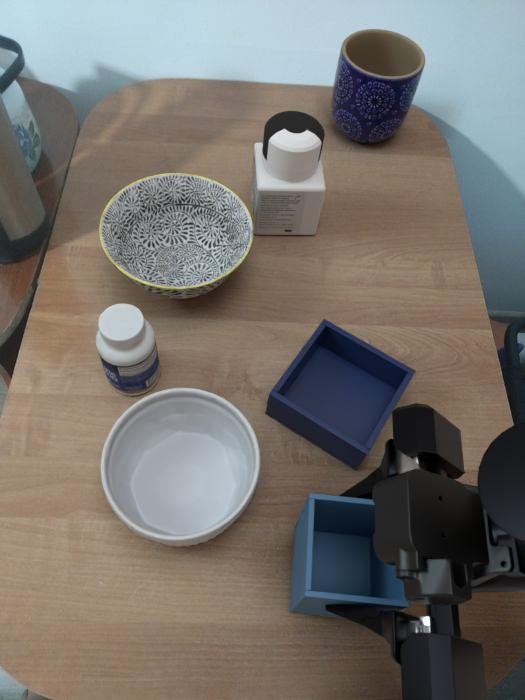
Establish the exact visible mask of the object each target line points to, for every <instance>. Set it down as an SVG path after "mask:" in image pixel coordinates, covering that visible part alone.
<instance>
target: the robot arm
mask: <svg viewBox="0 0 525 700" xmlns="http://www.w3.org/2000/svg"><path fill="white" fill-rule="evenodd" d="M391 416H392V417H391V418H392V419H391V421H392V438H389V439H388V440H387V441H386V442H385V444H384V453H383V455H382V458H381V462H380V464H379V465H378V467H377V468H376V469H375V470H374V471H372V472H371V473H369V475H367V476H366V477H365V478H363V479H362V480H360V481H358V482H357V483H355V484H354V485H353V486H350V488H348V489H346V490H344V491H343V492H341V493H340V494H339V495H338V496H342V497H352V498H361V499H371V500H373V502H374V504H375V533H374V535H373V547H374V551H375V553H376V555H377V557H378V558H379V559H380V560H381V561H382V562H383V563H385V564H388V565H393V566H396V578H398V579H401V580H402V582H403V586H404V597H405V598H406V599H407V600H409V602H410V601H411V602H416V603H421V604H425V612H426V614H425V615H426V616H418V615H417V616H416V615H413V614H410V613H406V612H403V611H397V610H382V609H375V608H368V607H361V606H354V605H347V604H329V605H325V610H326V611H328V612H330V613H333V614H335V615H338V616H340V617H343V618H342V619H344V620H348V621H350V622H353V623H354V624H357V625H359V626H361V627H364V628H365V629H368V630H370V631H371V632H373V633H375V634H376V635H378V636H379V637H381V638H382V639H384V640H385V641H386V643H387V644H388V645H389V648H390V658H391V660H392V662H393V663H394V664H395V665H396V666H399V667H400V679H401V699H402V700H489V698H488V697H489V695H488V688H487V687H488V686H487V677H486V666H485V658H484V657H485V656H484V647H483V643H481V642H478V641H475V640H470V639H467V638H464V633H463V630H462V628H461V619H460V608H459V607H460V606H459V605H462V604H465V603H467V602H470V601H472V599H473V594H478V593H479V594H480V593H482V594H483V593H518V592H519V593H520V592H521V593H522V592H525V420H524V421H521V422H519V423H516V424H513V425H512V426H510V427H509V428H507V429H505V430H503V431H502V432H500V434H499V435H497V437H496V438H494V439H493V440H492V442H490V444H489V445H488V447H487V448H486V450H485V452H484V453H483V455H482V457H481V460H480V462H479V466H478V470H477V471H478V472H477V480H476V483H477V484H476V485H474V484H473V485H472V484H467V483H462V482H461V481H459V479H460V478H461V477H462V476H463V475H464V474H465V473H466V472H465V471H466V470H465V462H464V453H463V442H462V441H463V440H462V433H461V430H460V428H458V427H457V426H456V425H455V424H453V423H452V422H451V421H449V420H448V419H447V418H446V417H445V416H443V415H442V414H441V413H440V412H439V411H437V410H436V409H435V408H434V407H432V406H430V405H429V404H427V403H419V402H413V403H410V404H407V405H402V406H397V407H395V408H394V409H393V411H392V413H391Z"/></svg>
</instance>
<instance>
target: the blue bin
mask: <svg viewBox="0 0 525 700" xmlns="http://www.w3.org/2000/svg"><path fill="white" fill-rule="evenodd" d="M374 533H375V504H374V502H373V500H371V499H361V498H352V497H342V496H339V495H334V494H333V495H332V494H322V493H313V492H309V494H308V496H307V498H306V500H305V502H304V504H303V506H302V509H301V511H300V513H299V515H298V517H297V519H296V521H295V524H294V527H293V543H292V558H291V559H292V560H291V578H290V595H289V596H290V597H289V611H288V612H289V613H290V614H299V615H309V616H317V617H318V616H319V617H328V618H329V617H330V618H337V619H338V618H339V619H344V618H343V617H340V616H338V615H335V614H333V613H330V612H328V611H326V610H325V605H329V604H347V605H354V606H361V607H368V608H375V609H382V610H397V611H400V612H402V611H403V610H406V609H408V608H410V600H407V599H406V598H405V597H404V586H403V582H402V580H401V579H398V578H396V566H393V565H388V564H385V563H383V562H382V561H381V560H380V559H379V558H378V557H377V555H376V553H375V551H374V547H373V535H374Z"/></svg>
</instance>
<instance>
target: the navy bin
mask: <svg viewBox="0 0 525 700" xmlns="http://www.w3.org/2000/svg"><path fill="white" fill-rule="evenodd" d="M415 373H416V370H415V369H414V368H412V367H410V366H409V365H407V364H405V363H403V362H401V361H400V360H398V359H396V358H394V357H393V356H391V355H389V354H388V353H385V352H384V351H382V350H380V349H378V348H377V347H375V346H373V345H371V344H370V343H368V342H366V341H364V340H363V339H361V338H359V337H357V336H356V335H354V334H352V333H350V332H348V331H346V330H345V329H343V328H341V327H340V326H338V325H336V324H334V323H332V322H331V321H329V320H328V319H325V318H323V319H322V320H321V322H320V324H319V325H318V326H317V327H316V329H315V331H314V332H313V333H312V335H311V336H310V337H309V339H308V340H307V341H306V343H305V344H304V345H303V346H302V348H301V350H299V352H298V353H297V354H296V357H294V359H293V360H292V361H291V363H290V365H289V366H288V367H287V369H285V371H284V372H283V374H282V375H281V377H280V378H279V379H278V381H277V382H276V383H275V385H274V386H273V387H272V389H271V390H270V392H269V393H268V397H267V403H266V407H265V415H267V416H268V417H270V418H272V419H273V420H275V421H276V422H278V423H279V424H281V425H283V426H285V427H286V428H287V429H289V430H291V432H294V433H295V434H297V435H299V436H300V437H302V438H303V439H305V440H307V441H308V442H310V443H311V444H313V445H315V446H316V447H318V448H320V449H321V450H323V451H324V452H326V453H327V454H329V455H331V456H332V457H334V458H335V459H337V460H338V461H340V462H341V463H343V464H345V465H346V466H348V467H349V468H351V469H352V470H354V471H358V469H359V468H360V466H361V464H362V463H363V462H364V460H365V458H366V457H367V455H368V454H369V452H370V451H371V448H372V447H373V445H374V443H375V442H376V440H377V438H378V437H379V435H380V434H381V432H382V430H383V429H384V427H385V425H386V423H387V421H388V419H390V416H391V415H392V412H393V410H394V409H395V408H396V406H397V404H398V402H399V401H400V399H401V398H402V396H403V394H404V393H405V391H406V389H407V387H408V386H409V384H410V382H411V381H412V378H413V377H414V375H415Z"/></svg>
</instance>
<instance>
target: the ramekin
mask: <svg viewBox="0 0 525 700" xmlns="http://www.w3.org/2000/svg"><path fill="white" fill-rule="evenodd" d="M260 449H261V448H260V443H259V441H258V437H257V435H256V432H255V430H254V428H253V426H252V425H251V423H250V421H249V420H248V418H247V417H246V416H245V415H244V413H242V411H241V410H239V408H238V407H236V406H235V405H234V404H233V403H232V402H230V401H229V400H227V399H226V398H225V397H222V396H220V395H218V394H216V393H214V392H211V391H207V390H204V389H199V388H194V387H174V388H166V389H163V390H159V391H157V392H154V393H151V394H149V395H146V396H144V397H142V398H141V399H139V400H138V401H136V402H135V403H133V404H132V405H131V406H130V407H128V408H127V409H125V411H123V413H122V414H120V416H119V417H118V418H117V420H116V421H115V422H114V423H113V425H112V427H111V429H110V430H109V432H108V434H107V437H106V439H105V441H104V445H103V448H102V452H101V457H100V465H99V468H100V477H101V478H100V479H101V484H102V488H103V492H104V494H105V497H106V500H107V501H108V504H109V505H110V507H111V509H112V510H113V512H114V514H115V515H116V516H117V518H118V519H119V520H120V521H121V522H122V523H123V524H124V525H125V526H126V527H127V528H128V529H130V530H131V531H132V532H134V533H136V534H137V535H139V536H141V537H143V538H145V539H147V540H151V541H153V542H157V543H158V544H162V545H167V546H170V547H173V546H174V547H178V548H179V547H190V546H192V545H194V546H196V545H197V546H198V545H199V544H201V543H206V542H208V541H209V540H213V539H215V538H216V537H217V536H218V535H220V534H223V532H225V530H227V529H228V528H229V527H231V525H232V524H233V523H234V522H236V520H237V519H238V518H239V517H241V515H242V514H243V513H244V511H245V510H246V509H247V507H248V506H249V504H250V502H251V501H252V499H253V497H254V494H255V493H256V490H257V487H258V484H259V480H260V476H261V464H262V463H261V461H262V460H261V450H260Z"/></svg>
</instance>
